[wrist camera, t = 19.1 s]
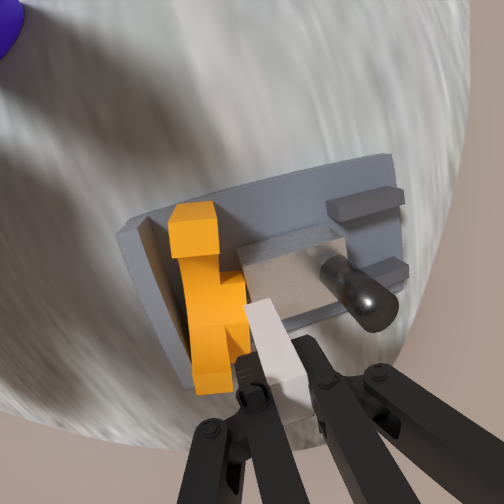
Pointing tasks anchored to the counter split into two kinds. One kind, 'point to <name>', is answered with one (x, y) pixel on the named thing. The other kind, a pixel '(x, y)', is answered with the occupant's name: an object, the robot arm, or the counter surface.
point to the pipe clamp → (209, 298)
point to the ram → (314, 277)
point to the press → (268, 226)
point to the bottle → (9, 23)
